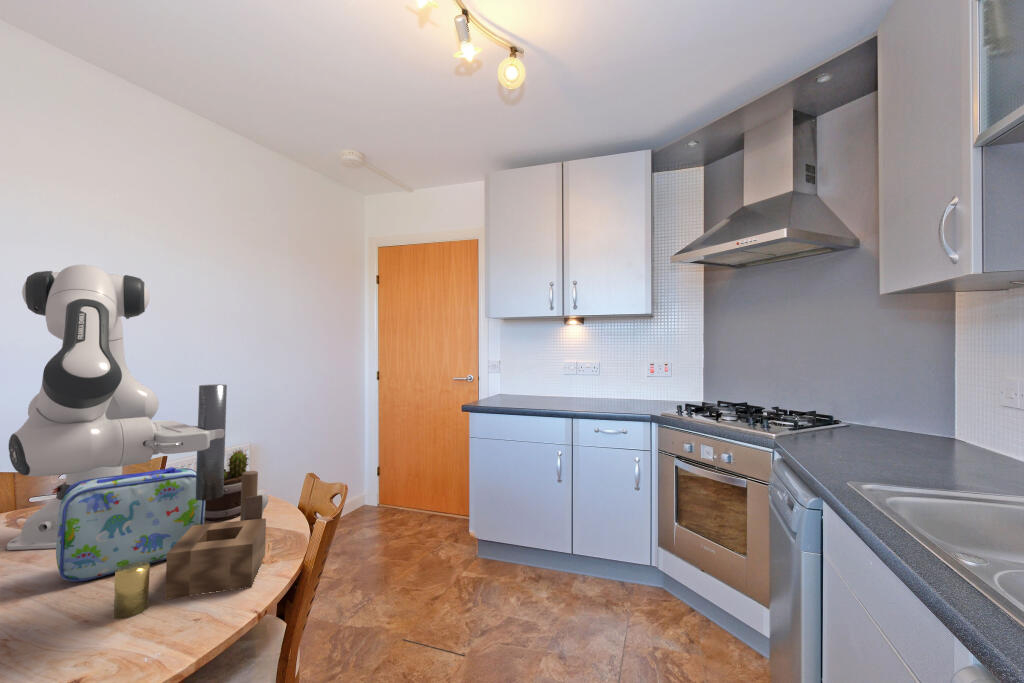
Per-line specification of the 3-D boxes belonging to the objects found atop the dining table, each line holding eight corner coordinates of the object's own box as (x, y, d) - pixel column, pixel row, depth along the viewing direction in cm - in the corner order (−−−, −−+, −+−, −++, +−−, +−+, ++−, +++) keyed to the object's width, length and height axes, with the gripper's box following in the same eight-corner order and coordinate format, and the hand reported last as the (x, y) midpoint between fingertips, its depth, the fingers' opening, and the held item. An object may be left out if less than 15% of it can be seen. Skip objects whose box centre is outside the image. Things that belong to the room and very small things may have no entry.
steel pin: (191, 501, 93) (195, 386, 94) (200, 494, 98) (203, 384, 98) (219, 499, 95) (223, 386, 95) (226, 492, 99) (229, 384, 100)
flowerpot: (190, 528, 123) (192, 455, 124) (197, 511, 136) (199, 445, 137) (251, 519, 130) (253, 450, 131) (252, 503, 144) (254, 441, 144)
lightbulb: (249, 525, 126) (250, 486, 126) (271, 525, 126) (272, 486, 126) (237, 534, 120) (238, 493, 120) (261, 534, 120) (262, 492, 120)
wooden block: (244, 557, 107) (246, 481, 107) (238, 541, 115) (240, 471, 116) (261, 553, 109) (263, 479, 109) (254, 538, 117) (256, 469, 118)
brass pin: (107, 620, 81) (109, 576, 81) (121, 605, 86) (123, 563, 86) (141, 615, 83) (143, 572, 83) (152, 601, 87) (154, 560, 88)
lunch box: (197, 539, 116) (199, 458, 117) (208, 551, 109) (210, 465, 110) (54, 574, 97) (58, 477, 98) (56, 592, 90) (60, 488, 91)
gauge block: (165, 599, 88) (166, 553, 88) (191, 565, 102) (192, 525, 103) (251, 587, 93) (252, 543, 93) (264, 556, 107) (266, 518, 108)
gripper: (155, 430, 80) (238, 421, 91) (121, 418, 92) (198, 412, 103) (153, 465, 80) (237, 452, 91) (120, 449, 92) (197, 439, 103)
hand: (216, 431), depth 97 cm, fingers closed on steel pin, 5 cm apart
